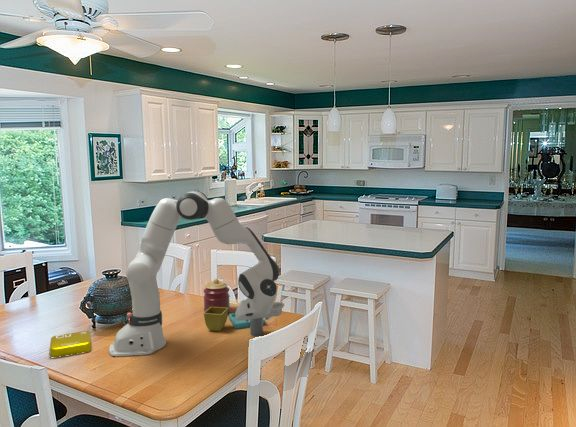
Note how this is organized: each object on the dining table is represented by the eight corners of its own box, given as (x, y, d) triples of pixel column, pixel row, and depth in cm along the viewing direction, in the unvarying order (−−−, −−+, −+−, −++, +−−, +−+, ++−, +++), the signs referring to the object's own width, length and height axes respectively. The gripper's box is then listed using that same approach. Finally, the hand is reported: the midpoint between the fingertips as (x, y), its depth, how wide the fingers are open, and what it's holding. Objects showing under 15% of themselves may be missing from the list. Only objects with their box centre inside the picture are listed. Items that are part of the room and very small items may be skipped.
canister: (232, 308, 233) (231, 275, 231) (226, 317, 220) (225, 282, 218) (208, 307, 235) (207, 275, 232) (200, 316, 222) (199, 282, 220)
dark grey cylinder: (252, 336, 197) (251, 312, 195) (249, 331, 202) (248, 308, 201) (264, 334, 198) (263, 310, 197) (261, 330, 204) (260, 306, 202)
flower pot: (222, 333, 200) (221, 314, 199) (203, 332, 202) (203, 313, 201) (228, 326, 209) (228, 307, 208) (211, 325, 211) (210, 306, 210)
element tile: (50, 360, 177) (49, 348, 176) (51, 345, 190) (51, 335, 190) (91, 352, 183) (90, 341, 183) (90, 339, 197) (89, 328, 196)
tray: (235, 329, 205) (235, 324, 205) (229, 318, 218) (229, 313, 218) (264, 325, 210) (264, 320, 209) (257, 315, 223) (257, 310, 223)
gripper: (283, 296, 194) (277, 310, 205) (236, 301, 188) (232, 316, 198) (286, 309, 191) (280, 323, 201) (239, 315, 184) (235, 329, 195)
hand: (256, 319), depth 200 cm, fingers open, 8 cm apart
